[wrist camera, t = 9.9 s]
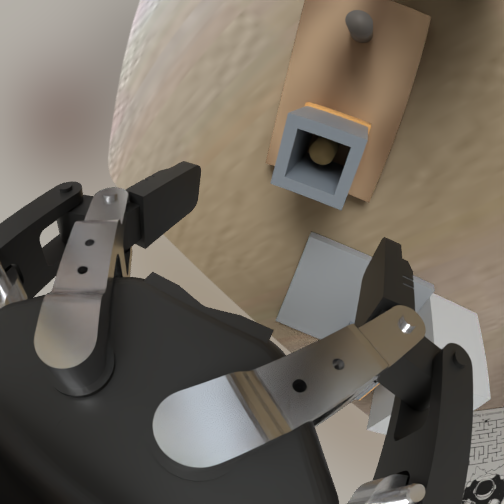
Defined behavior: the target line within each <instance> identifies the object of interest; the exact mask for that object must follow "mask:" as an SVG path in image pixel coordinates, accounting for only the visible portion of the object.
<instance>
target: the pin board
mask: <svg viewBox="0 0 504 504" xmlns="http://www.w3.org/2000/svg"><path fill="white" fill-rule="evenodd" d="M430 20H431V17H430V16H428V15H426V14H424V13H422V12H419V11H417V10H414V9H412V8H410V7H407V6H405V5H402V4H399V3H397V2H394V1H391V0H305V1H304V5H303V9H302V14H301V18H300V22H299V26H298V30H297V34H296V38H295V42H294V46H293V50H292V54H291V58H290V63H289V67H288V71H287V75H286V79H285V83H284V87H283V92H282V96H281V100H280V104H279V108H278V112H277V117H276V121H275V125H274V129H273V134H272V138H271V142H270V146H269V150H268V155H267V159H266V163H267V164H270V165H273V166H275V164H276V160H277V156H278V152H279V148H280V144H281V140H282V135H283V131H284V127H285V123H286V119H287V115H288V113H289V112H291V111H294V110H297V109H300V108H302V107H305V103H306V102H311V103H314V104H317V105H321V106H324V107H327V108H330V109H333V110H336V111H339V112H341V113H344V114H347V115H350V116H352V117H355V118H358V119H360V120H363V121H366V122H368V123H371V128H370V131H369V134H368V141H367V144H366V146H365V149H364V152H363V155H362V158H361V160H360V163H359V166H358V169H357V171H356V174H355V177H354V179H353V182H352V185H351V187H350V190H349V192H348V194H350V195H352V196H355V197H357V198H359V199H362V200H364V201H366V202H369V201H370V199H371V197H372V194H373V192H374V190H375V187H376V185H377V183H378V180H379V178H380V175H381V173H382V170H383V168H384V165H385V163H386V160H387V158H388V155H389V153H390V150H391V147H392V145H393V142H394V139H395V137H396V134H397V131H398V128H399V126H400V123H401V120H402V117H403V114H404V111H405V108H406V105H407V102H408V99H409V96H410V93H411V90H412V87H413V83H414V80H415V77H416V73H417V70H418V67H419V63H420V60H421V56H422V52H423V48H424V45H425V41H426V37H427V33H428V28H429V24H430ZM350 148H351V147H349V146H346V145H344V144H341V143H338V142H336V141H333V140H330V139H327V138H324V137H322V136H319V135H316V134H313V133H312V137H311V140H310V144H309V147H308V151H307V152H308V153H309V154H310V157H311V159H312V160H313V161H314V162H315V163H317V164H320V165H326V164H329V163H330V162H331V161H333V162H335V163H338V164H341V165H343V166H344V165H345V162H346V159H347V156H348V153H349V151H350Z"/></svg>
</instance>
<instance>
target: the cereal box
mask: <svg viewBox="0 0 504 504" xmlns="http://www.w3.org/2000/svg"><path fill="white" fill-rule="evenodd" d="M461 504H504V407H502V408H495V409H488V410H480V411H473V425H472V439H471V449H470V458H469V465H468V472H467V478H466V484H465V489H464V494H463V499H462V503H461Z"/></svg>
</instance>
